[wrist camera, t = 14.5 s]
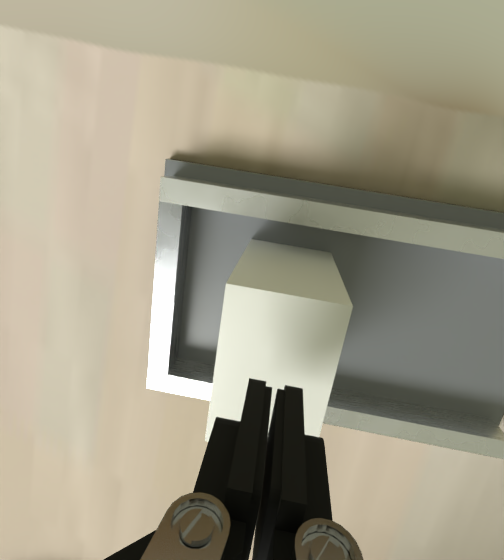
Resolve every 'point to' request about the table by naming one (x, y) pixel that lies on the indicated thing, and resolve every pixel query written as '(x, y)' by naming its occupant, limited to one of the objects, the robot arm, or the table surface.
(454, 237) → the rail guides
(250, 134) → the table surface
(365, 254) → the plate
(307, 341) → the block
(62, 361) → the table surface
